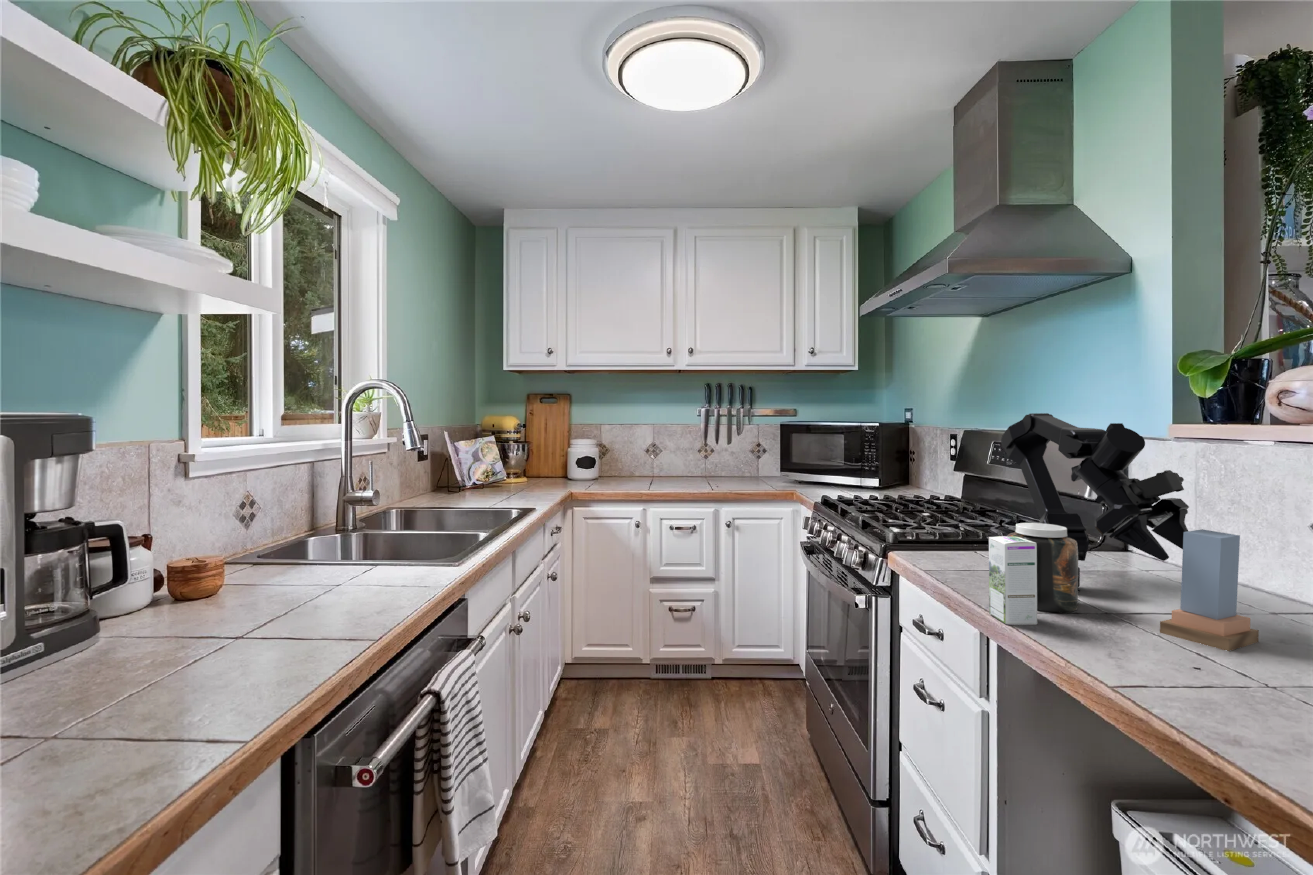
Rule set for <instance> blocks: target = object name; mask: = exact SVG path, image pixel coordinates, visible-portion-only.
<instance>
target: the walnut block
mask: <svg viewBox="0 0 1313 875" xmlns="http://www.w3.org/2000/svg"><path fill="white" fill-rule="evenodd" d="M1159 633H1160V634H1162V635H1166V636H1171V637H1174V638H1179V639H1182V640H1185V641H1188V642H1193V643H1196V644H1200V643H1201V644H1200V645H1203V644H1204V646H1207V645H1208V646H1207V647H1211V648H1214V647H1216V648H1215V649H1218V650H1222V651H1225V650H1227V651H1226V652H1231V651H1234V650H1237V648H1238V649H1240V647H1241V648H1244V647H1247V646H1251V645H1253V643H1254V644H1258V643H1259V640H1260V638H1259V636H1260V635H1259V634H1260V632H1259V630H1258V629H1254V628H1251V627H1250V631H1245V632H1241V633H1236V634H1232V635H1227V636H1221V635H1217V634H1213V633H1209V632H1206V631H1202V630H1198V629H1194V628H1191V627H1187V626H1183V625H1179V624H1175V623H1172V618H1170V619H1169V618H1168V619H1165V620H1162V621H1159ZM1230 650H1231V651H1230Z"/></svg>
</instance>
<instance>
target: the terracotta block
mask: <svg viewBox="0 0 1313 875" xmlns="http://www.w3.org/2000/svg"><path fill="white" fill-rule="evenodd" d="M1171 619H1172V623H1175V624H1179V625H1183V626H1187V627H1191V628H1194V629H1198V630H1202V631H1206V632H1209V633H1213V634H1217V635H1221V636H1227V635H1232V634H1236V633H1241V632H1245V631H1250V628H1251V617H1248V616H1244V615H1239V614H1236V616H1232V617H1228V618H1223V619H1219V620H1216V619H1212V618H1209V617H1205V616H1201V615H1198V614H1194V613H1190V612H1187V611H1183V610H1180V608H1178V609H1173V610H1171Z"/></svg>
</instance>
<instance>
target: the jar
mask: <svg viewBox="0 0 1313 875" xmlns="http://www.w3.org/2000/svg"><path fill="white" fill-rule="evenodd" d="M1006 536H1015V537H1020V538H1023V539H1026V540H1029V541H1032V542H1035V543H1037V611H1040V612H1046V613H1048V612H1049V613H1070V612H1071V613H1072V612H1075V611H1078V607H1079V592H1078V588H1079V587H1078V567H1079V560H1078V546H1077V542H1076V540H1074V539H1072V538H1070V537H1067V536H1068V535H1067V528H1066V527H1063V526H1058V525H1052V524H1043V523H1039V522H1020V523H1016V524H1015V531H1014V532H1011V533H1008V534H1007V535H1006Z"/></svg>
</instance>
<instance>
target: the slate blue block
mask: <svg viewBox="0 0 1313 875" xmlns="http://www.w3.org/2000/svg"><path fill="white" fill-rule="evenodd" d="M1240 542H1241V535H1238V534H1233V533H1227V532H1220V531H1214V530H1208V529H1196V530H1195V529H1194V530H1188V531H1187V532H1184V535H1183V549H1182V558H1181V559H1182V562H1181V563H1182V565H1181V586H1180V588H1181V590H1180V608H1179V609H1180V610H1183V611H1187V612H1190V613H1194V614H1198V615H1201V616H1205V617H1209V618H1212V619H1216V620H1219V619H1223V618H1228V617H1232V616H1236V615H1237V608H1238V606H1237V605H1238V604H1237V603H1238V588H1239V587H1238V584H1239V582H1238V581H1239V566H1240V564H1239V562H1240V545H1241V543H1240Z"/></svg>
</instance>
